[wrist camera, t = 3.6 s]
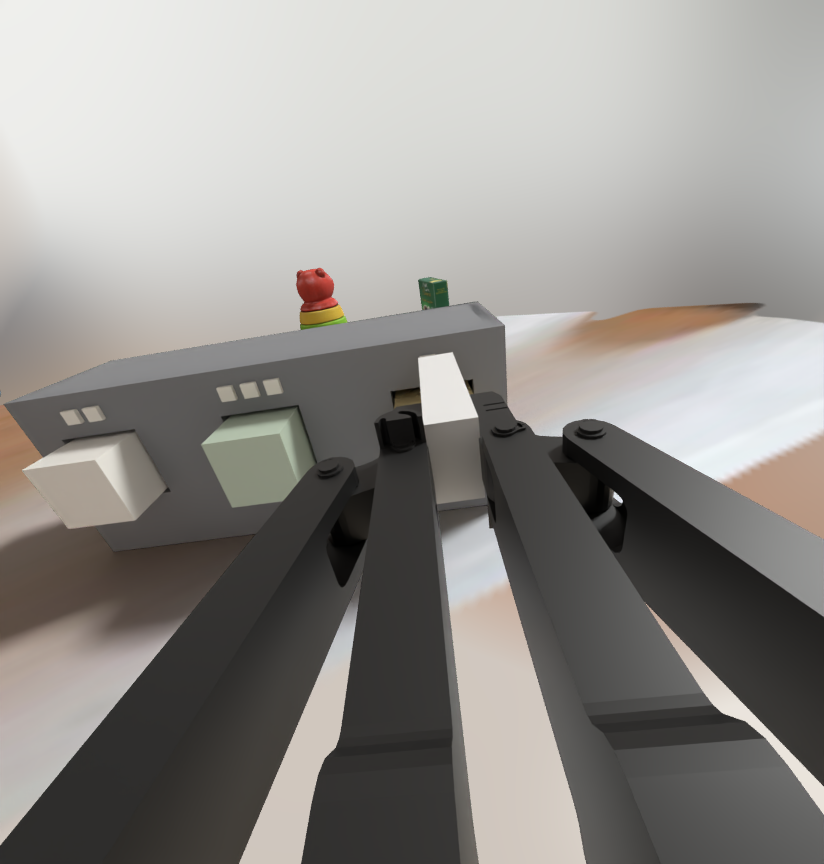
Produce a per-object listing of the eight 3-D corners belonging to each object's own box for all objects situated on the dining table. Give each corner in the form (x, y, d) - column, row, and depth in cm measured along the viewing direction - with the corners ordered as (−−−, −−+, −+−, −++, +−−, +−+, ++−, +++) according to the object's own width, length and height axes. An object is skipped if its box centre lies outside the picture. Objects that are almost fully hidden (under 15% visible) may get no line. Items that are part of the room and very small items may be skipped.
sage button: (303, 498, 24) (279, 433, 22) (232, 507, 24) (201, 444, 22) (322, 452, 29) (304, 395, 27) (263, 460, 30) (241, 405, 27)
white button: (135, 520, 25) (94, 459, 23) (68, 529, 25) (21, 470, 23) (183, 471, 30) (154, 418, 28) (127, 479, 31) (94, 427, 28)
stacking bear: (369, 353, 76) (349, 261, 68) (336, 370, 69) (310, 269, 61) (333, 352, 82) (310, 267, 74) (299, 367, 75) (270, 275, 67)
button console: (511, 504, 29) (505, 326, 22) (111, 554, 31) (-1, 405, 24) (486, 440, 38) (477, 301, 31) (179, 482, 40) (110, 360, 33)
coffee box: (455, 355, 66) (447, 278, 60) (440, 358, 65) (431, 281, 59) (440, 346, 73) (431, 276, 67) (426, 349, 72) (417, 279, 66)
